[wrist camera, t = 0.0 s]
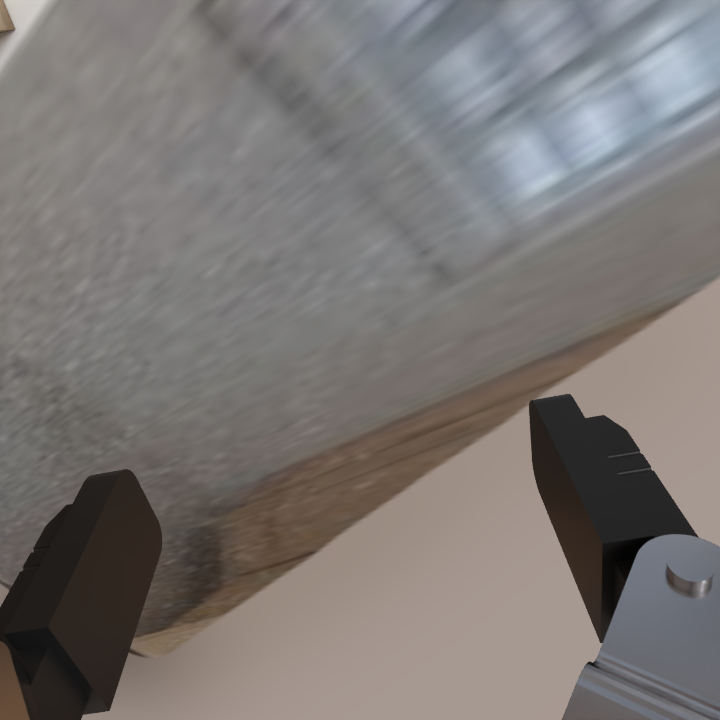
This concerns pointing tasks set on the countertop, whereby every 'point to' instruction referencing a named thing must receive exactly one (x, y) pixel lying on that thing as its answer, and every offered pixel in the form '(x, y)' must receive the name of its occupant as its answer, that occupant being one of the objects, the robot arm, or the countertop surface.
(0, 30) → the socket block
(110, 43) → the countertop surface
